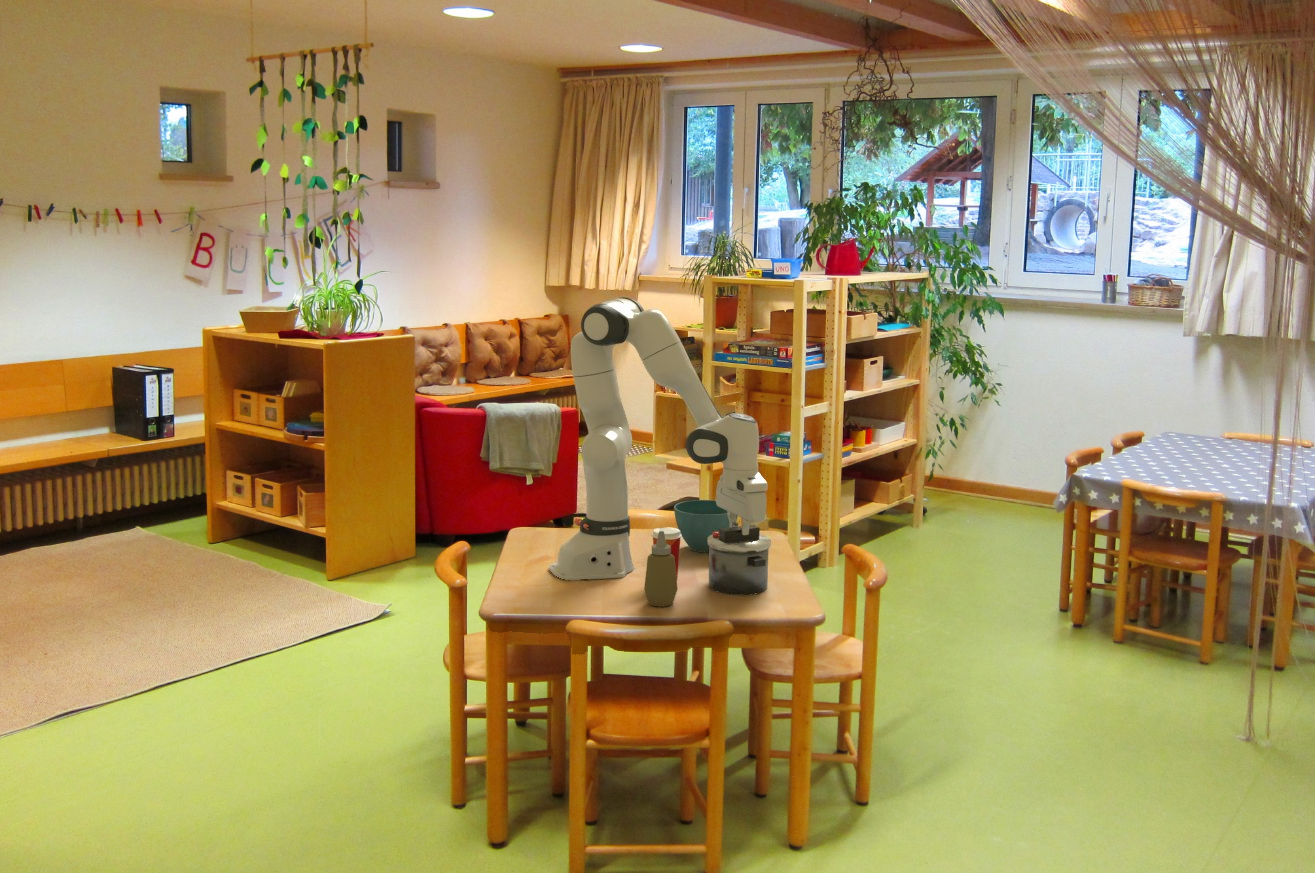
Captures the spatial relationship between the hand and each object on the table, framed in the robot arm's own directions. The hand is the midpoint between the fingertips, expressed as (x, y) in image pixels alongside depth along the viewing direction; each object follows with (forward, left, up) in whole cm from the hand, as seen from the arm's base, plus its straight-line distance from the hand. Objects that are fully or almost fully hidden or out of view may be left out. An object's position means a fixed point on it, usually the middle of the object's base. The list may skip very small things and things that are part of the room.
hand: (739, 531), depth 293 cm
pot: (0, 0, -14) cm, 14 cm away
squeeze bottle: (-24, -5, -14) cm, 28 cm away
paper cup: (-16, +9, -14) cm, 23 cm away
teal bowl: (+8, +34, -14) cm, 38 cm away
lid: (0, 0, -3) cm, 3 cm away
